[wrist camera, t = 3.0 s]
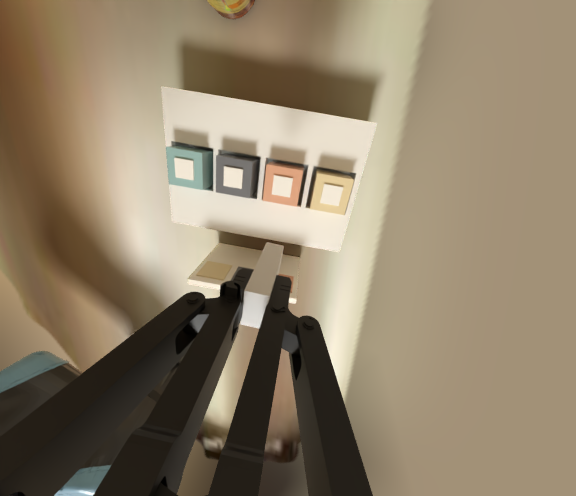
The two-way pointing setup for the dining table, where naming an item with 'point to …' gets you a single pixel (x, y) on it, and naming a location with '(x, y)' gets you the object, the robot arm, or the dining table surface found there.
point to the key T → (331, 192)
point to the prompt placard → (239, 267)
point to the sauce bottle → (232, 7)
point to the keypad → (267, 147)
